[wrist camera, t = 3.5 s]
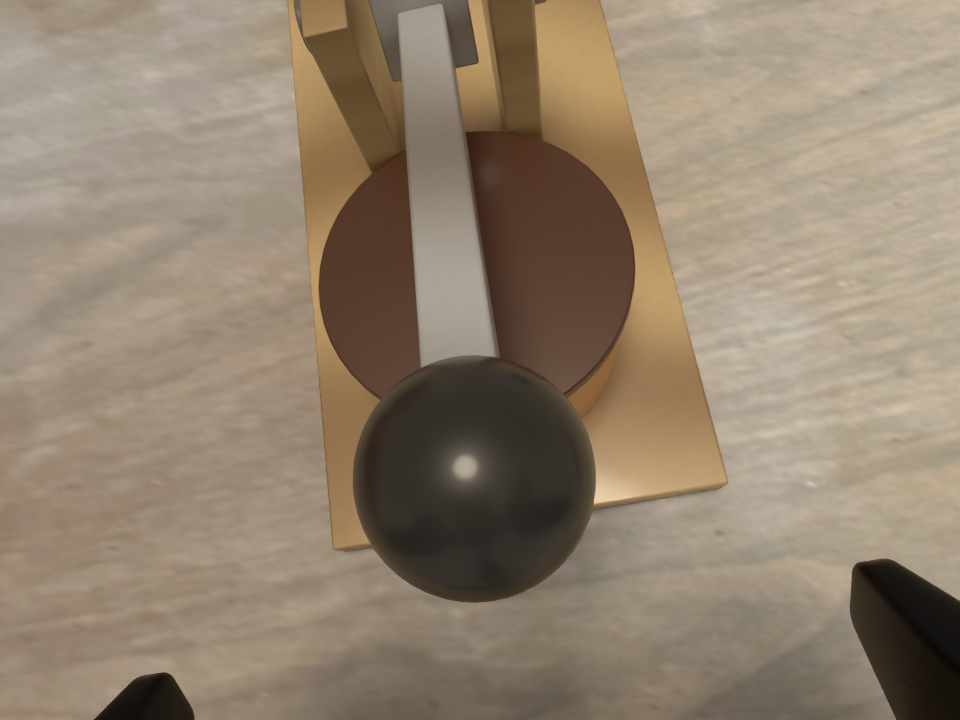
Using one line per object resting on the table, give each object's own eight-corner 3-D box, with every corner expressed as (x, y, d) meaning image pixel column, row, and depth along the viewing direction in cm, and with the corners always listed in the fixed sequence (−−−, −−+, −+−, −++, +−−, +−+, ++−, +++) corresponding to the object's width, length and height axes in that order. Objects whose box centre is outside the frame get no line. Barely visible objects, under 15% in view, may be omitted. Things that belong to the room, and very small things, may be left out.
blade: (622, 611, 9) (620, 522, 7) (394, 647, 10) (309, 574, 7) (489, 18, 19) (468, -114, 16) (376, 43, 19) (337, -83, 17)
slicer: (721, 488, 21) (860, 406, 11) (344, 551, 22) (146, 531, 12) (570, -86, 29) (569, -451, 18) (294, -21, 30) (147, -335, 19)
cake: (534, 510, 20) (522, 490, 16) (322, 373, 23) (256, 320, 18) (669, 289, 22) (696, 211, 17) (458, 181, 24) (431, 85, 19)
